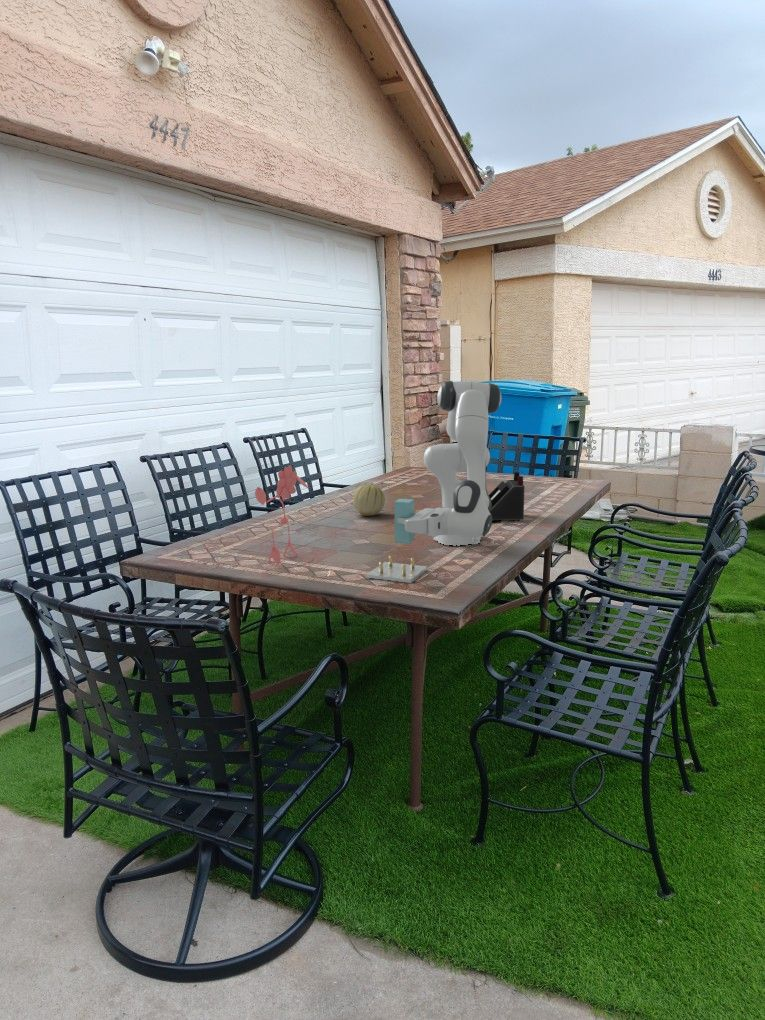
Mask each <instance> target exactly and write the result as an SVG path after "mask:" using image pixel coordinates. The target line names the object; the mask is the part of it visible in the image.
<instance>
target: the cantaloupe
mask: <svg viewBox="0 0 765 1020" xmlns="http://www.w3.org/2000/svg"><path fill="white" fill-rule="evenodd" d="M385 502H386V496H385V493H384V492H383V490H382V489H381V488H380V487H379V486H377V485H375V484H374V483H373V482H370V483H366V484H365V483H364V484H362V485H360V486H358V487H357V489H356V490H355V492H354V494H353V496H352V504H353V507H354V509H355V511H356V512H358V514H360V515H362V516H365V517H371V516H375V515H378V514H379V513H381V511H383V509H384V506H385Z"/></svg>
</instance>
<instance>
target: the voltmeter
mask: <svg viewBox="0 0 765 1020" xmlns="http://www.w3.org/2000/svg"><path fill="white" fill-rule="evenodd" d="M513 473H514V474H513V479H507V480H506V482H505V481H503V480H502V481H501V482H500V483H499V484H498V485H496V487H495V488H494V489H493V490H492V491H491V492H490V493H488V495H489V497H490V500H491V504H492V506H491V510H490V514H491V515H492V521H493V522H494V521H499V520H501V521H503V520H505V521H506V520H507V521H510V520H511V521H512V520H513V521H514V520H515V522H516V521H518V522H517V523H520V522H519V521H521V520H522V521H523V520H524V519H525V518H524V517H525V485H524V476H521V475H520V472H518V471H514V472H513Z"/></svg>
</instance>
